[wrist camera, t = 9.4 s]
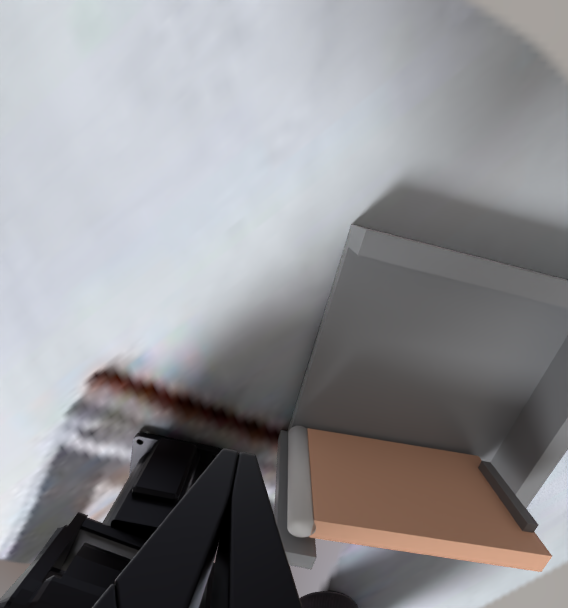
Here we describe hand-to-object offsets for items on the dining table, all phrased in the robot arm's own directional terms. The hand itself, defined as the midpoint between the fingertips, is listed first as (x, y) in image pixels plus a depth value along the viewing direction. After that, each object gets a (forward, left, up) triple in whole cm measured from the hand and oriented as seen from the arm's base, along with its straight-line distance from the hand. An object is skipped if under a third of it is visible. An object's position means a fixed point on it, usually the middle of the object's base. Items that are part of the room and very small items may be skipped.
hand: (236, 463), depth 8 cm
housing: (-2, -11, -12) cm, 16 cm away
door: (-7, -10, -11) cm, 16 cm away
